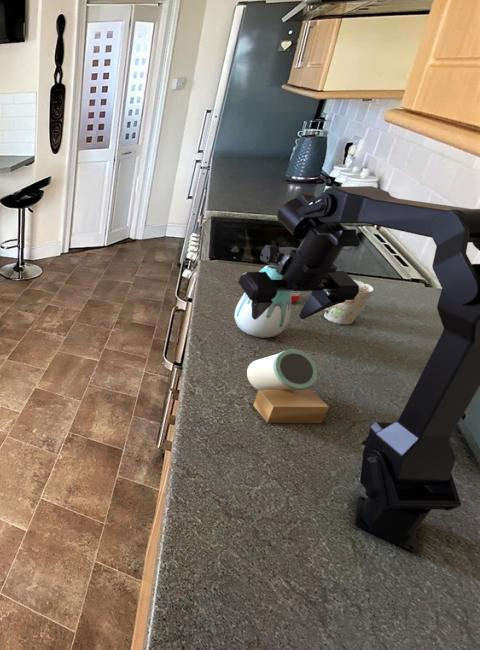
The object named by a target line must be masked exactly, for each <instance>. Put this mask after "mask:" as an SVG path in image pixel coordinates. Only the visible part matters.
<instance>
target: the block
mask: <svg viewBox="0 0 480 650" xmlns="http://www.w3.org/2000/svg"><path fill="white" fill-rule="evenodd" d="M253 407H254V408H255V410H256V411H257V412H258V413H259V415H260V416H261V417H262V418H263V420H264V422H266V423H267V424H322V423H323V421H324V419H325V417H326V415H327V413H328V410H329V408H330V406H329V405H328V404H327V403H326V402H324V400H323V399H322V398H320V396H319V395H318V394H316V393H315V392H314V390H313V389H288V390H257V394H256V397H255V399H254V402H253Z"/></svg>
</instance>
